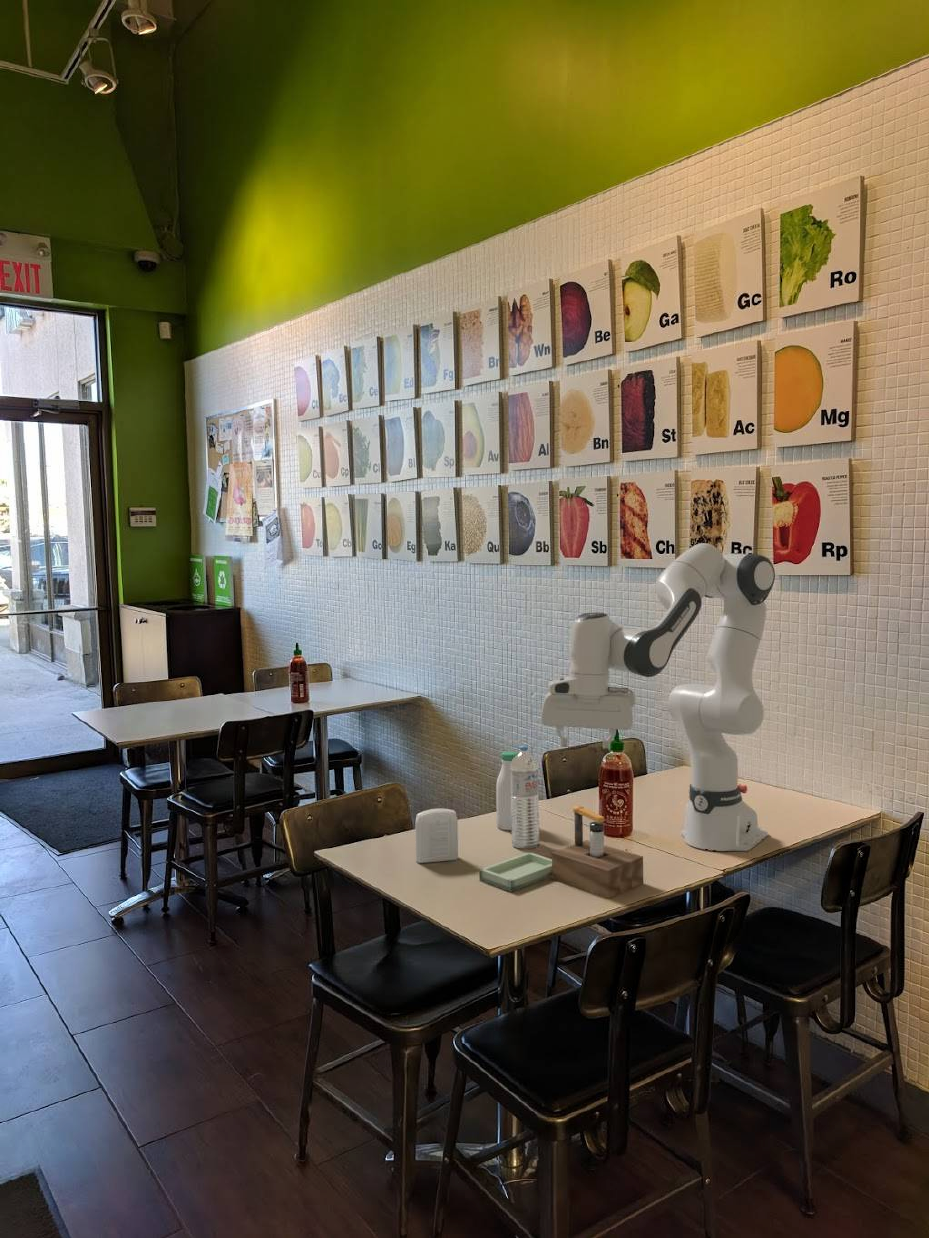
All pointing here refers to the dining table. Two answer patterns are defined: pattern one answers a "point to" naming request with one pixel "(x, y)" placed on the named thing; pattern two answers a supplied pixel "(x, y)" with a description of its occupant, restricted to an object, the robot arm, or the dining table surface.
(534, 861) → the tray
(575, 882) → the block
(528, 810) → the water bottle
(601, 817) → the bar
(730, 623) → the robot arm
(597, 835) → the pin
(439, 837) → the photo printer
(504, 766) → the milk bottle
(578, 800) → the dining table surface
